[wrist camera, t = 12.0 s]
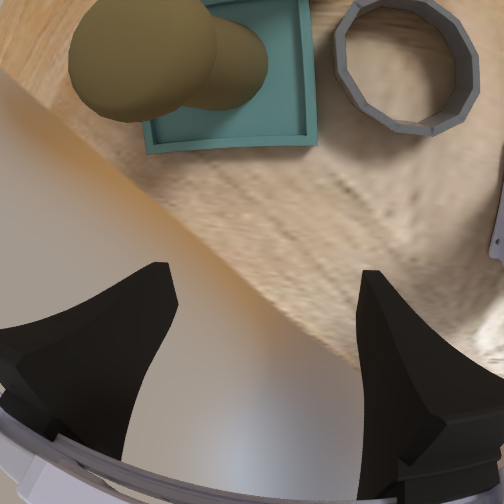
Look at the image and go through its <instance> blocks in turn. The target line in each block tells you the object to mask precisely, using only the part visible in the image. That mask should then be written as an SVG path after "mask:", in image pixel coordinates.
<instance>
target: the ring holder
mask: <svg viewBox="0 0 504 504" xmlns="http://www.w3.org/2000/svg"><path fill="white" fill-rule="evenodd" d="M381 6H382V7H389V8H396V9H402V10H408V11H413V12H414V13H416V14H417V15H419V16H420V17H421V18H423V19H424V20H426V21H427V22H428V23H430V24H431V25H433V26H434V27H435V28H437V29H438V30H439V31H440V33H441V35H442V36H443V38H444V40H445V41H446V43H447V45H448V47H449V49H450V50H451V52H452V54H453V56H454V58H455V79H456V88H455V89H454V91H453V93H452V95H451V97H450V98H449V100H448V102H447V104H446V105H445V107H444V109H443V111H441V112H439V113H437V114H435V115H433V116H431V117H428V118H426V119H424V120H422V121H420V122H418V123H416V122H407V121H398V120H392V119H391V118H389V117H388V116H386V115H385V114H383V113H382V112H380V111H379V110H377V109H376V108H374V107H373V106H371V105H370V104H368V103H367V102H366V100H365V98H364V97H363V95H362V93H361V92H360V90H359V88H358V87H357V85H356V83H355V82H354V80H353V79H352V77H351V75H350V74H349V72H348V71H347V59H346V45H345V34H346V32H347V30H348V29H349V27H350V25H351V24H352V22H353V20H354V18H355V17H358V16H360V15H362V14H364V13H367V12H369V11H372V10H374V9H376V8H379V7H381ZM332 45H333V59H334V75H335V76H336V78H337V80H338V81H339V83H340V84H341V86H342V87H343V89H344V91H345V92H346V94H347V95H348V97H349V99H350V100H351V102H352V104H353V105H354V107H355V108H357V109H359V110H360V111H362V112H363V113H365V114H367V115H368V116H370V117H371V118H373V119H374V120H376V121H377V122H379V123H380V124H382V125H383V126H385V127H386V128H388V129H390V130H392V131H394V132H396V133H406V134H416V135H424V136H432V137H434V136H436V135H438V134H440V133H442V132H444V131H446V130H448V129H450V128H452V127H454V126H456V125H458V124H460V123H462V122H464V120H465V119H466V117H467V115H468V113H469V112H470V110H471V108H472V106H473V104H474V102H475V101H476V99H477V97H478V95H479V93H480V72H479V56H478V53H477V51H476V49H475V47H474V46H473V44H472V42H471V40H470V38H469V36H468V34H467V33H466V31H465V29H464V27H463V26H462V24H461V22H460V21H459V19H457V18H456V17H455V16H454V15H452V14H451V13H450V12H448V11H447V10H446V9H444V8H443V7H442V6H440V5H439V4H438V3H436V2H435V1H434V0H355V1H353V3H352V4H351V6H350V8H349V9H348V11H347V13H346V14H345V16H344V18H343V20H342V21H341V23H340V25H339V26H338V28H337V30H336V31H335V34H334V36H333V39H332Z"/></svg>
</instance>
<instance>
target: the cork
mask: <svg viewBox="0 0 504 504" xmlns="http://www.w3.org/2000/svg"><path fill="white" fill-rule="evenodd" d="M68 71H69V74H70V78H71V82H72V86H73V88H74V90H75V91H76V93H77V94H78V96H79V97H80V99H81V100H82V102H84V103H85V104H86V105H87V106H88V107H89V108H91V109H92V110H93V111H94V112H96V113H97V114H98V115H100V116H102V117H105V118H109V119H112V120H116V121H120V122H126V123H128V122H144V121H150V120H153V119H156V118H158V117H161V116H164V115H166V114H169V113H171V112H174V111H176V110H177V109H178V108H179V107H181V106H185V107H191V108H198V109H204V110H210V111H226V110H229V109H233V108H236V107H240V106H241V105H243V104H244V103H246V102H247V101H249V100H250V99H252V98H253V97H254V96H255V95H256V93H257V92H258V91H259V90H260V89H261V87H262V86H263V83H264V81H265V78H266V76H267V73H268V55H267V52H266V48H265V45H264V43H263V42H262V41H261V39H260V38H259V37H258V35H257V34H256V33H255V32H254V31H252V30H251V29H249V28H248V27H246V26H244V25H243V24H240V23H237V22H234V21H230V20H227V19H224V18H220V17H217V16H213V15H211V14H210V12H209V11H208V9H207V8H206V7H205V6H204V5H203V4H202V2H201V1H200V0H98V1H97V2H96V3H95V4H94V5H93V6H92V7H91V8H90V9H89V10H88V11H87V13H86V14H85V15H84V16H83V18H82V19H81V21H80V23H79V25H78V27H77V28H76V30H75V32H74V34H73V38H72V41H71V45H70V49H69V61H68Z"/></svg>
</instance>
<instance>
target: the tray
mask: <svg viewBox="0 0 504 504" xmlns="http://www.w3.org/2000/svg"><path fill="white" fill-rule="evenodd" d="M200 1H201V2H202V4H203V5H204V6H205V7H206V8H207V9H208V11H209V12H210V14H211V15H213V16H217V17H220V18H224V19H227V20H230V21H234V22H237V23H240V24H243V25H244V26H246V27H248V28H249V29H251V30H252V31H254V32H255V33H256V34H257V35H258V37H259V38H260V39H261V41H262V42H263V43H264V45H265V48H266V52H267V55H268V73H267V76H266V78H265V81H264V83H263V86H262V87H261V89H260V90H259V91H258V92H257V93H256V95H255V96H254V97H253V98H252V99H250V100H249V101H247V102H246V103H244V104H243V105H241V106H240V107H236V108H233V109H229V110H226V111H210V110H204V109H198V108H191V107H185V106H181V107H179V108H178V109H177V110H176V111H174V112H171V113H169V114H166V115H164V116H161V117H158V118H156V119H153V120H150V121H144V122H142V124H143V131H144V138H145V145H146V152H147V155H150V154H158V153H167V152H177V151H188V150H200V149H213V148H229V147H251V146H317V111H316V88H315V70H314V55H313V42H312V30H311V19H310V9H309V0H200Z"/></svg>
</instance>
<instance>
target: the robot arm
mask: <svg viewBox="0 0 504 504" xmlns="http://www.w3.org/2000/svg"><path fill="white" fill-rule="evenodd" d="M497 239H498V241H497V242H496V240H497ZM488 254H489V256H490V257H491V258H493V259H499V260H500V261H501V263H502V264H503V265H504V183H503V189H502V195H501V200H500V205H499V210H498V215H497V219H496V224H495V228H494V232H493V236H492V240H491V243H490V247H489V250H488ZM177 308H178V300H177V297H176V292H175V288H174V285H173V280H172V276H171V272H170V268H169V264H168V263H166V262H165V263H164V262H154V263H151V264H149V265H147V266H145V267H143V268H142V269H140V270H138V271H137V272H135V273H133V274H132V275H130V276H129V277H127V278H125V279H123V280H122V281H120V282H118V283H117V284H115V285H114V286H112V287H110V288H108V289H107V290H105V291H103V292H101V293H100V294H98V295H96V296H94V297H93V298H91V299H89V300H87V301H85V302H83V303H81V304H79V305H77V306H75V307H72V308H70V309H68V310H66V311H63V312H61V313H58V314H55V315H53V316H50V317H48V318H45V319H42V320H39V321H35V322H32V323H28V324H24V325H20V326H16V327H11V328H5V329H0V383H1V384H2V385H3V387H4V388H5V389H6V390H5V391H4V393H3V394H2V393H1V392H0V468H1V469H2V470H3V471H4V472H5V473H6V474H7V475H8V476H10V477H11V478H12V479H13V480H14V481H15V482H16V483H17V484H18V487H17V493H18V496H19V497H20V498H22V499H23V500H24V501H25V502H26V503H28V504H148V503H145V502H142V501H139V500H137V499H134V498H131V497H129V496H127V495H124V494H122V493H120V492H118V491H116V490H115V489H114V488H112V487H111V486H109V485H108V484H107V483H106V482H105V481H104V480H103V479H101V478H99V477H97V476H96V475H94V474H97V475H99V476H101V477H103V478H105V479H108V480H110V481H112V482H115V483H117V484H119V485H122V486H124V487H127V488H129V489H132V490H134V491H137V492H140V493H143V494H145V495H148V496H151V497H154V498H157V499H160V500H163V501H167V502H170V503H173V504H504V467H502V468H500V469H498V466H497V461H499V460H500V459H501V456H502V455H501V451H500V447H501V446H502V445H503V443H504V379H503V378H501V377H499V376H497V375H495V374H493V373H492V372H490V371H488V370H487V369H485V368H483V367H482V366H480V365H478V364H477V363H475V362H474V361H472V360H471V359H469V358H468V357H466V356H465V355H463V354H462V353H461V352H459V351H458V350H457V349H455V348H454V347H453V346H451V345H450V344H449V343H448V342H446V341H445V340H444V339H443V338H442V337H441V336H439V335H438V334H437V333H436V332H435V331H434V330H433V329H431V328H430V327H429V326H428V325H427V324H426V323H425V322H424V321H423V320H422V319H421V318H420V317H419V316H418V315H417V314H416V313H415V312H414V310H413V309H412V308H411V307H410V306H409V305H408V304H407V303H406V302H405V300H404V299H403V298H402V297H401V296H400V295H399V293H398V292H397V291H396V290H395V289H394V287H393V286H392V285H391V284H390V283H389V281H388V280H387V279H386V278H385V276H384V275H383V274H382V273H381V272H380V271H379V270H363V272H362V279H361V286H360V293H359V299H358V305H357V311H356V336H357V345H358V352H359V359H360V366H361V373H362V380H363V389H364V436H363V451H362V463H361V472H360V480H359V487H358V494H357V500H356V501H306V500H290V499H278V498H268V497H260V496H252V495H245V494H239V493H233V492H228V491H222V490H217V489H212V488H208V487H203V486H199V485H195V484H191V483H186V482H183V481H179V480H175V479H172V478H168V477H165V476H162V475H158V474H155V473H152V472H149V471H146V470H143V469H140V468H137V467H134V466H132V465H129V464H126V463H124V462H121V458H122V452H123V447H124V441H125V437H126V433H127V429H128V425H129V421H130V417H131V414H132V410H133V407H134V404H135V401H136V398H137V395H138V392H139V390H140V387H141V384H142V381H143V379H144V376H145V374H146V372H147V370H148V367H149V366H150V364H151V362H152V360H153V358H154V356H155V355H156V353H157V351H158V349H159V347H160V345H161V343H162V341H163V340H164V338H165V336H166V334H167V332H168V330H169V328H170V326H171V324H172V321H173V319H174V316H175V313H176V311H177ZM87 470H88V471H90V472H92V473H94V474H92V473H90V472H88V471H87Z"/></svg>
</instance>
